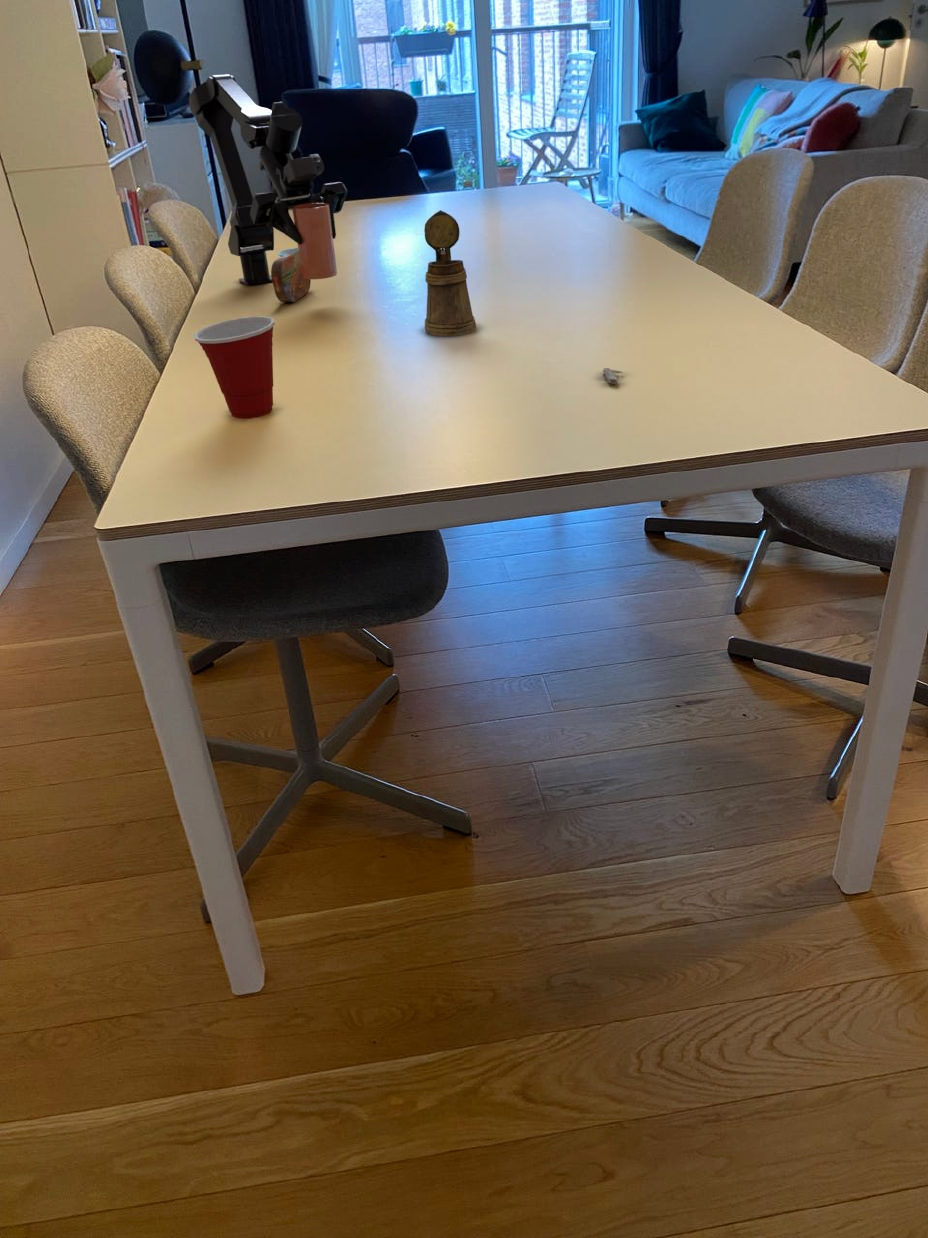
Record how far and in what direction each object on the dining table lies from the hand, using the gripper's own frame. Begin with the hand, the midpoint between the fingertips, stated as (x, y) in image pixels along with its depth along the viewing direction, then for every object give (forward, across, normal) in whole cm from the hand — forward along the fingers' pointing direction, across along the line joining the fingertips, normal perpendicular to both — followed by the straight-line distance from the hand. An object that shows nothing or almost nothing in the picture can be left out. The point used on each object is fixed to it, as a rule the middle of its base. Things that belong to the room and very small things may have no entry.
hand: (318, 239), depth 172 cm
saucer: (-24, +18, +42) cm, 52 cm away
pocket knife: (+60, +7, -45) cm, 75 cm away
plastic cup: (+43, -38, -26) cm, 63 cm away
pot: (+4, 0, +6) cm, 7 cm away
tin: (0, -1, +17) cm, 17 cm away
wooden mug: (+31, +8, -14) cm, 35 cm away
